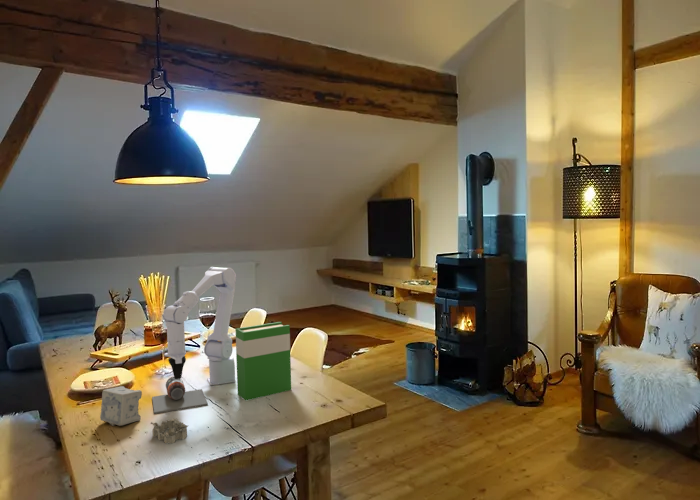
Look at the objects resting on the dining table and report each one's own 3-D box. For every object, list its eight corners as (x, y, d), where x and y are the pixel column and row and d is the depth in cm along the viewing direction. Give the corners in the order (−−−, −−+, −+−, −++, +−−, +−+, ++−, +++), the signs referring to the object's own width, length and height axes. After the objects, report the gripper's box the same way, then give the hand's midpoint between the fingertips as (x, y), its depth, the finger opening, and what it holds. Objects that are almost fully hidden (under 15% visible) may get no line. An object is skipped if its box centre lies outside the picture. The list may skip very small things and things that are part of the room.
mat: (202, 390, 183) (201, 389, 183) (207, 405, 169) (207, 403, 169) (152, 398, 176) (152, 396, 176) (154, 414, 162) (154, 412, 162)
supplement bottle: (179, 393, 181) (182, 404, 171) (163, 389, 179) (165, 400, 169) (185, 377, 182) (188, 387, 171) (169, 373, 179) (171, 384, 169)
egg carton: (149, 435, 148) (148, 421, 147) (173, 427, 153) (173, 414, 153) (166, 446, 140) (165, 432, 140) (190, 437, 146) (190, 424, 145)
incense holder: (143, 419, 159) (142, 387, 158) (121, 429, 151) (119, 396, 150) (122, 413, 163) (121, 382, 162) (99, 423, 156) (98, 391, 155)
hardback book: (282, 384, 188) (280, 321, 186) (291, 389, 182) (289, 325, 180) (237, 394, 179) (235, 328, 177) (245, 400, 173) (243, 332, 171)
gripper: (162, 336, 179) (164, 373, 180) (165, 346, 165) (167, 386, 166) (183, 334, 181) (184, 370, 182) (187, 344, 168) (189, 383, 169)
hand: (177, 378), depth 175 cm, fingers closed
